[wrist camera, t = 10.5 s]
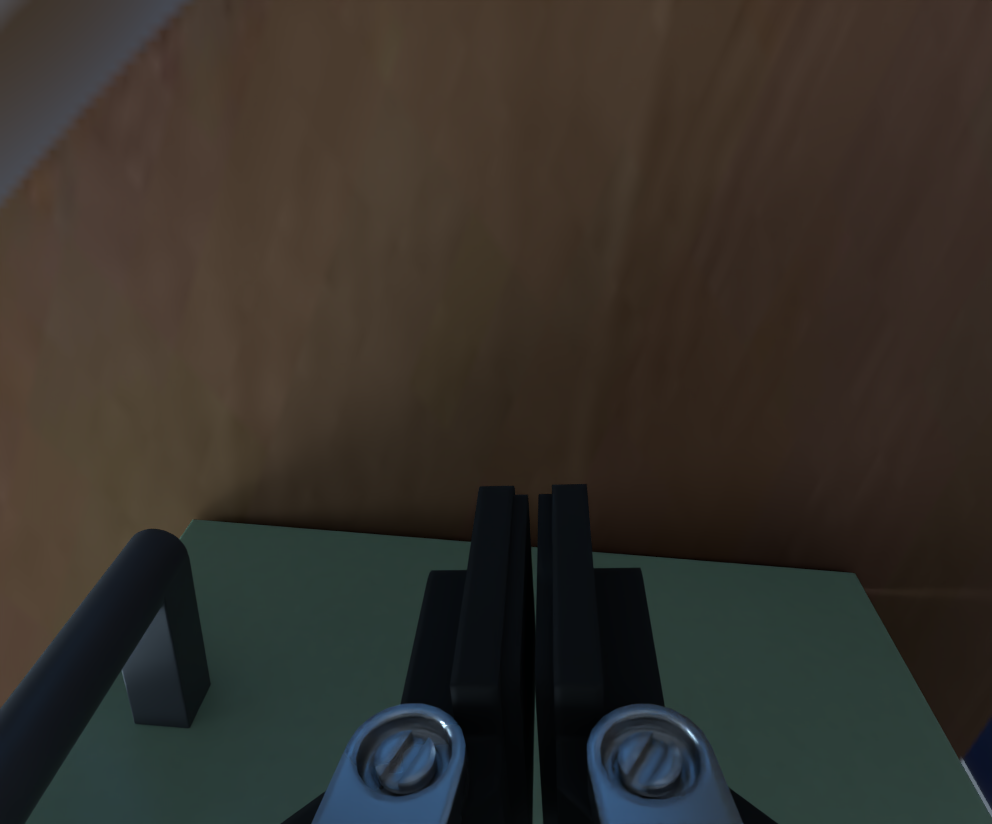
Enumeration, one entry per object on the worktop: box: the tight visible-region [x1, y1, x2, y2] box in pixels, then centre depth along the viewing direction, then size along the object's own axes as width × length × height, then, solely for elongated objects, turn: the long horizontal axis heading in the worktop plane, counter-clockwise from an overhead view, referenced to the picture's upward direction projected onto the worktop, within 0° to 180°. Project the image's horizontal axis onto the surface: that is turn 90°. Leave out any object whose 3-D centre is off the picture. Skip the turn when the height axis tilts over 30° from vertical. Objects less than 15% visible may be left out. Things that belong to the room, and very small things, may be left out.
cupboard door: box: [0, 520, 992, 824], centre depth 17 cm, size 7×26×26 cm, turn 87°
